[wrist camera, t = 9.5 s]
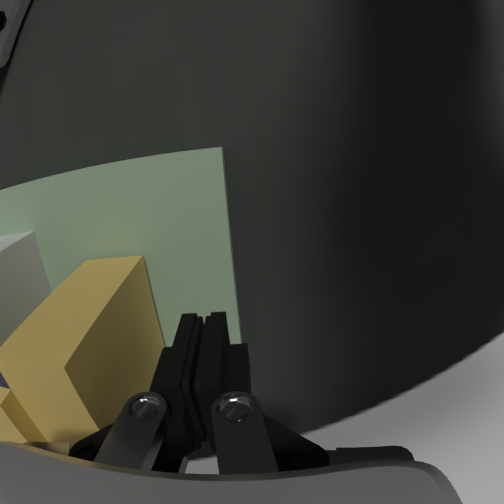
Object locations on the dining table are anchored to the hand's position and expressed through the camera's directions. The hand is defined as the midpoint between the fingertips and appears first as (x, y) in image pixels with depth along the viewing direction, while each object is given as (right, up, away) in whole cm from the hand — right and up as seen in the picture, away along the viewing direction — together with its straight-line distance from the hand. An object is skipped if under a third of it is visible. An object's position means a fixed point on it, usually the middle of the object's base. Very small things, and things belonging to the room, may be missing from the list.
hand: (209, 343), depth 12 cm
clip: (-6, +1, +2) cm, 7 cm away
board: (-12, +1, +4) cm, 13 cm away
